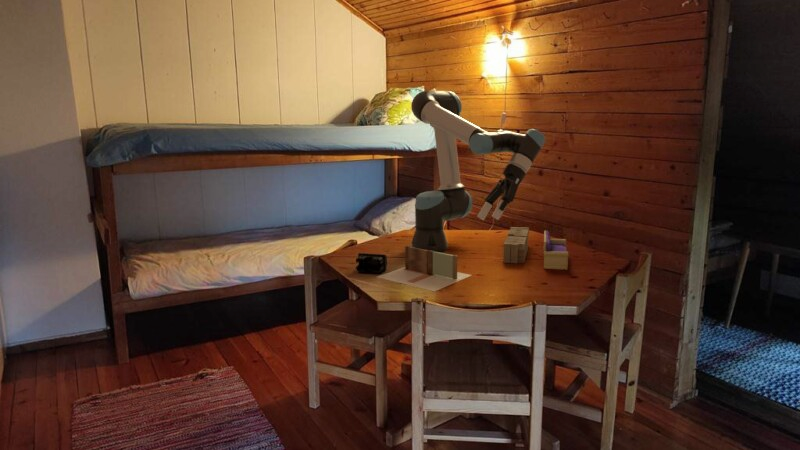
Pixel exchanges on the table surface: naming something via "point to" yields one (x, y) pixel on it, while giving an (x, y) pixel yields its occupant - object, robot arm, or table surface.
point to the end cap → (371, 263)
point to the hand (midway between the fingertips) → (487, 218)
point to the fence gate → (445, 265)
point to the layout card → (421, 279)
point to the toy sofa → (555, 253)
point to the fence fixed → (419, 260)
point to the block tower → (516, 245)
